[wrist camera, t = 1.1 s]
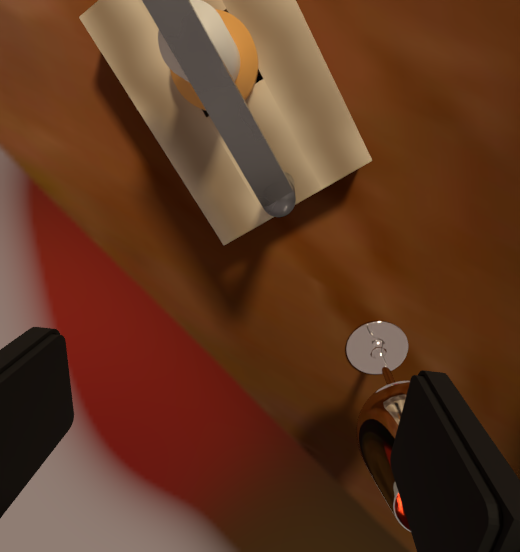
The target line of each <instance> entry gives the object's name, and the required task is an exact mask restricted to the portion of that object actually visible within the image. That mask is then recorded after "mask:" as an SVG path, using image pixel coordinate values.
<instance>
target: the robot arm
mask: <svg viewBox="0 0 520 552" xmlns="http://www.w3.org/2000/svg"><path fill="white" fill-rule="evenodd" d="M73 418H74V411H73V402H72V394H71V385H70V377H69V368H68V360H67V351H66V342H65V338H64V337H63V336H62V335H60V333H59V331H58V330H56V329H50V328H40V327H33V328H31V329H29V330H28V331H26V332H25V333H24V334H22V335H21V336H19V337H18V338H16V339H15V340H14V341H12V342H11V343H9V344H8V345H6V346H5V347H4V348H2V349H1V350H0V518H1V517H2V515H3V514H4V512H5V511H6V510H7V509H8V508H9V506H10V505H11V504H12V502H13V501H14V500H15V498H16V497H17V496H18V495H19V493H20V492H21V491H22V489H23V488H24V487H25V486H26V484H27V483H28V482H29V480H30V479H31V478H32V477H33V475H34V474H35V473H36V472H37V470H38V469H39V468H40V466H41V465H42V464H43V462H44V461H45V460H46V458H47V457H48V456H49V455H50V454H51V452H52V451H53V450H54V448H55V447H56V445H57V444H58V443H59V442H60V441H61V439H62V438H63V437H64V435H65V434H66V433H67V432H68V430H69V429H70V427H71V425H72V422H73ZM390 464H391V469H392V473H393V476H394V479H395V482H396V485H397V489H398V492H399V495H400V498H401V501H402V505H403V508H404V511H405V514H406V517H407V520H408V524H409V527H410V530H411V533H412V536H413V539H414V543H415V546H416V549H417V552H520V480H519V479H518V477H517V476H516V474H515V473H514V471H513V470H512V469H511V467H510V466H509V464H508V463H507V461H506V460H505V458H504V457H503V455H502V454H501V453H500V451H499V450H498V448H497V447H496V445H495V444H494V442H493V441H492V440H491V438H490V437H489V435H488V434H487V432H486V431H485V429H484V428H483V426H482V425H481V424H480V422H479V421H478V419H477V418H476V416H475V415H474V413H473V412H472V410H471V409H470V408H469V406H468V405H467V403H466V402H465V400H464V399H463V397H462V396H461V394H460V393H459V392H458V390H457V389H456V387H455V386H454V384H453V383H452V381H451V380H450V379H449V377H448V376H447V375H446V374H445V373H440V372H431V371H420V373H419V374H418V376H416V375H414V376H412V378H411V380H410V384H409V388H408V391H407V395H406V399H405V403H404V406H403V410H402V414H401V417H400V421H399V425H398V429H397V432H396V436H395V440H394V444H393V447H392V451H391V456H390Z"/></svg>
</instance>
